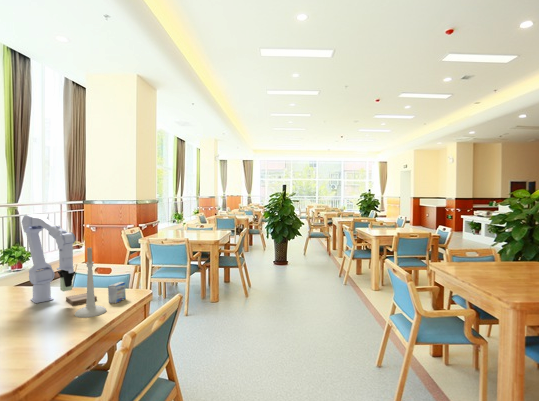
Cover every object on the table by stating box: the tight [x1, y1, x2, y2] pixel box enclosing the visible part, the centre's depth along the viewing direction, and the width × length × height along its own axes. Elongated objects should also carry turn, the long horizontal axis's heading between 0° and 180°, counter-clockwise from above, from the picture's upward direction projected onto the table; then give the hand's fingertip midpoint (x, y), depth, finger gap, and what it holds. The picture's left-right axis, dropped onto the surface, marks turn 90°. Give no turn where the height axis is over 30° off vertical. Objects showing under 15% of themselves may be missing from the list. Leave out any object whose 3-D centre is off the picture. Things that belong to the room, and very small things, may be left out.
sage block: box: [59, 277, 73, 292], centre depth 171 cm, size 4×4×6 cm
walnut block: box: [65, 292, 98, 306], centre depth 179 cm, size 11×11×2 cm
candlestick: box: [74, 247, 107, 319], centre depth 160 cm, size 13×13×30 cm
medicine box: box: [107, 281, 126, 304], centre depth 178 cm, size 8×4×9 cm, turn 168°
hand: (66, 285), depth 172 cm, fingers closed on sage block, 4 cm apart
